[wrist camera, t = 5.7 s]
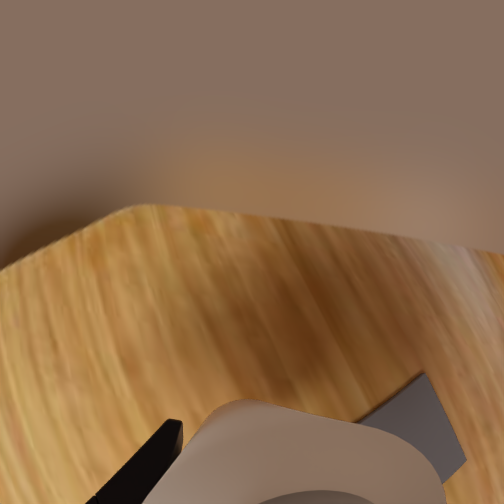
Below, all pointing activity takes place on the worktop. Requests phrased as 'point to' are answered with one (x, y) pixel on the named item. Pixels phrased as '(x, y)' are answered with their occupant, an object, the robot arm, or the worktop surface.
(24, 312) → the worktop surface
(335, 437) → the cream bottle
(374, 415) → the charcoal mat
